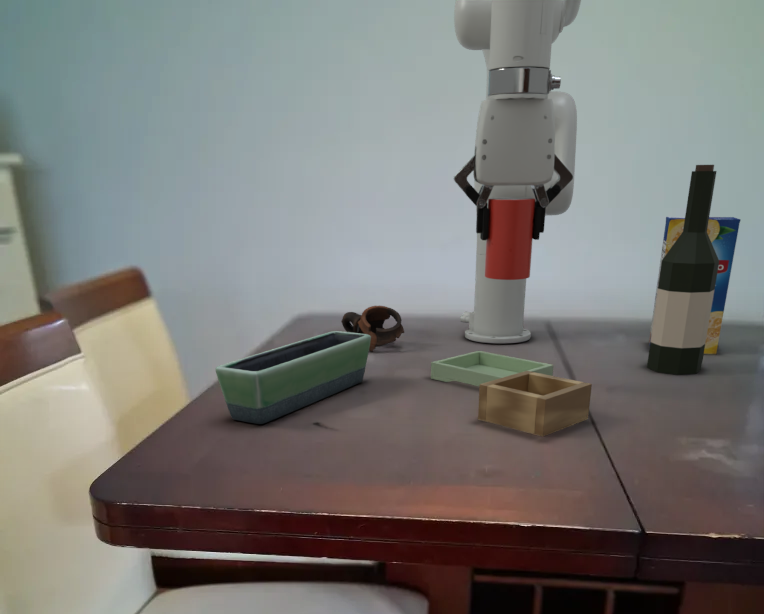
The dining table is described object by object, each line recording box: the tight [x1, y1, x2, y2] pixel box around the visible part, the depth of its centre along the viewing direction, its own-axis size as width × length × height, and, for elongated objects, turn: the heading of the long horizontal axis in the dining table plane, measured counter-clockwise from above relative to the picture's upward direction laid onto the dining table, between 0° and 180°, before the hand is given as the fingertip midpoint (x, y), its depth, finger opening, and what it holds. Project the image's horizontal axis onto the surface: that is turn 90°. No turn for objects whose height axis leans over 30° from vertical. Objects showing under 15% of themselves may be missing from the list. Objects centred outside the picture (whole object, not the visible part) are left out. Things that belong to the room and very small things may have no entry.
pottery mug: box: [340, 305, 406, 352], centre depth 137 cm, size 12×10×8 cm
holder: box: [477, 371, 593, 438], centre depth 94 cm, size 10×10×5 cm
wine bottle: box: [646, 164, 719, 376], centre depth 114 cm, size 8×8×30 cm
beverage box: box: [648, 216, 741, 355], centre depth 129 cm, size 7×11×22 cm, turn 75°
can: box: [485, 197, 535, 280], centre depth 101 cm, size 6×6×10 cm
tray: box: [430, 350, 554, 387], centre depth 114 cm, size 15×12×3 cm
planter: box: [215, 330, 371, 425], centre depth 104 cm, size 28×7×7 cm, turn 150°
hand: (509, 237), depth 101 cm, fingers closed on can, 6 cm apart
